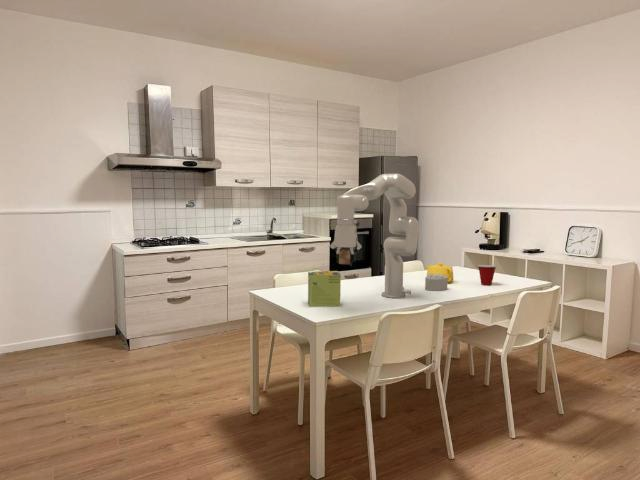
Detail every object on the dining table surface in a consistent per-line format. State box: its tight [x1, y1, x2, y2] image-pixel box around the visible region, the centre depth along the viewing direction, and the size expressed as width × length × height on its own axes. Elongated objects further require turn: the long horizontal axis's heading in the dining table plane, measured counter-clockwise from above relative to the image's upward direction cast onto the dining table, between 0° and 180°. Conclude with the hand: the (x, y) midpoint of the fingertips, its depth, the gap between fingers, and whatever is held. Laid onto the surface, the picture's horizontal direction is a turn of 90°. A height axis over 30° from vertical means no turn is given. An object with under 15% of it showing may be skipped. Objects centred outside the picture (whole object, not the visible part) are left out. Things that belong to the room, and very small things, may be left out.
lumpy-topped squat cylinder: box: [424, 274, 448, 292], centre depth 253 cm, size 10×13×9 cm
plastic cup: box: [477, 264, 497, 286], centre depth 267 cm, size 11×11×12 cm
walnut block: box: [338, 248, 352, 265], centre depth 201 cm, size 5×5×6 cm
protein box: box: [307, 270, 342, 307], centre depth 216 cm, size 10×15×16 cm
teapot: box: [425, 262, 454, 284], centre depth 277 cm, size 20×12×12 cm, turn 34°
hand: (345, 262), depth 202 cm, fingers closed on walnut block, 5 cm apart
